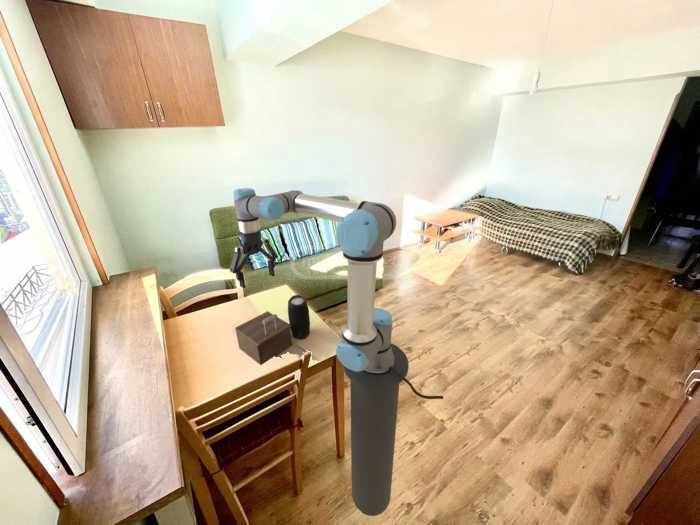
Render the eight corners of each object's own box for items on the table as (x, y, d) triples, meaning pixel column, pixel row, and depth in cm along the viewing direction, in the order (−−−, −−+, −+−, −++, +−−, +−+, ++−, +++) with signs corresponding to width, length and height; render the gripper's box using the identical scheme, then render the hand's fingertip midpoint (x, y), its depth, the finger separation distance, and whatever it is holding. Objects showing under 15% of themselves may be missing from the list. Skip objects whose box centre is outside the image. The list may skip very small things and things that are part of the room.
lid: (291, 326, 118) (289, 310, 114) (258, 346, 106) (255, 329, 103) (267, 312, 127) (265, 297, 124) (235, 329, 116) (232, 313, 113)
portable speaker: (295, 327, 133) (291, 292, 124) (313, 330, 131) (311, 295, 122) (287, 339, 125) (282, 304, 116) (307, 342, 123) (303, 307, 114)
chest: (292, 344, 122) (290, 325, 118) (260, 365, 111) (257, 345, 107) (270, 330, 131) (267, 312, 127) (239, 348, 120) (235, 329, 116)
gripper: (271, 222, 116) (277, 268, 124) (212, 236, 98) (224, 289, 107) (283, 225, 111) (288, 273, 120) (223, 240, 94) (234, 295, 102)
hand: (258, 280), depth 113 cm, fingers open, 13 cm apart
